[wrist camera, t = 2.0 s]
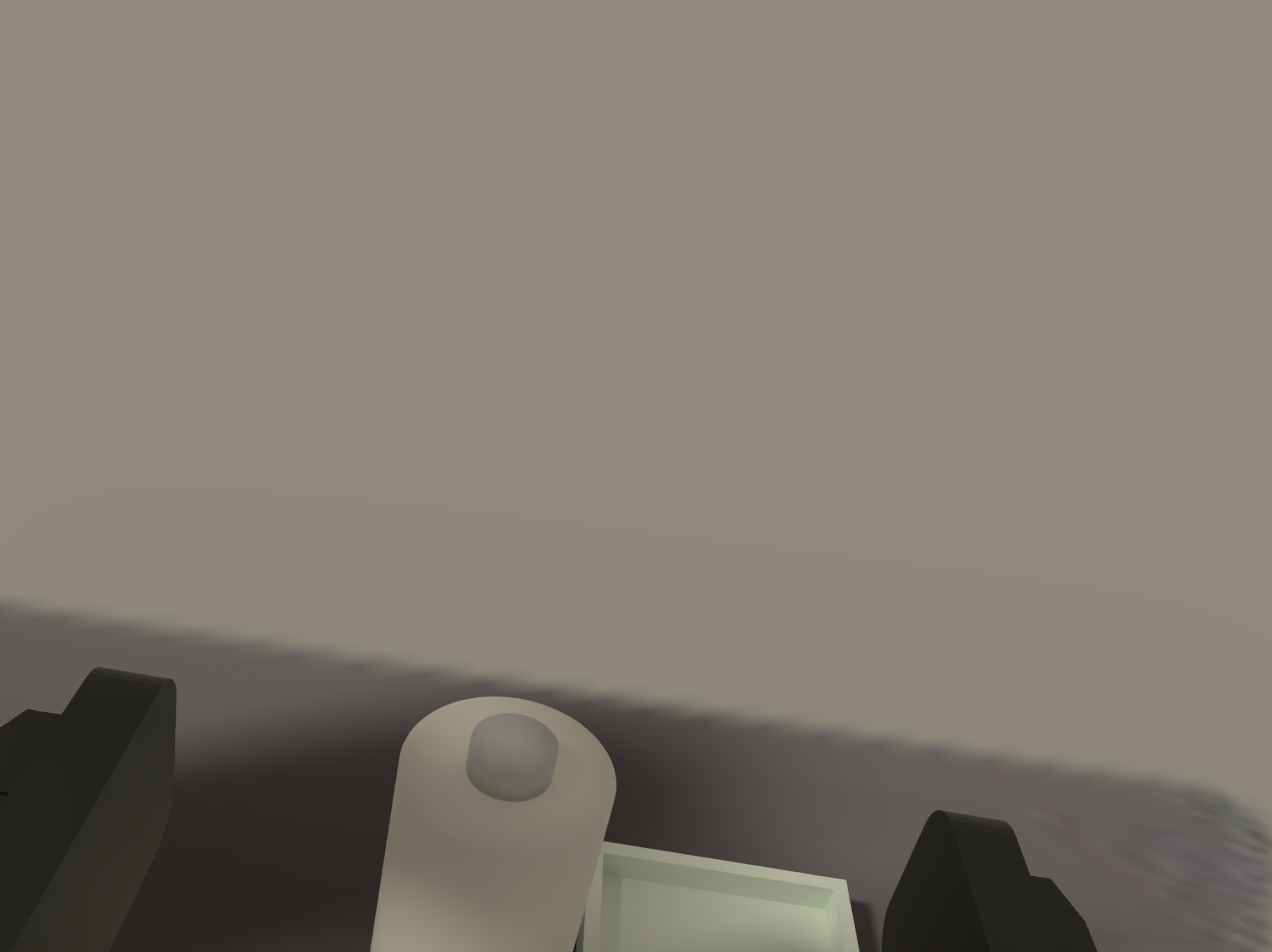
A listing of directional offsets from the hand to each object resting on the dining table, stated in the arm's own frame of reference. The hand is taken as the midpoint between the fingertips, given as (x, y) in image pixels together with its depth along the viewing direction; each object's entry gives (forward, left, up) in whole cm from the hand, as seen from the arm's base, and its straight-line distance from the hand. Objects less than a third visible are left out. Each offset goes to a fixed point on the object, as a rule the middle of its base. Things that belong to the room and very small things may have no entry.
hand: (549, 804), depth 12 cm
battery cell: (0, +11, -22) cm, 25 cm away
